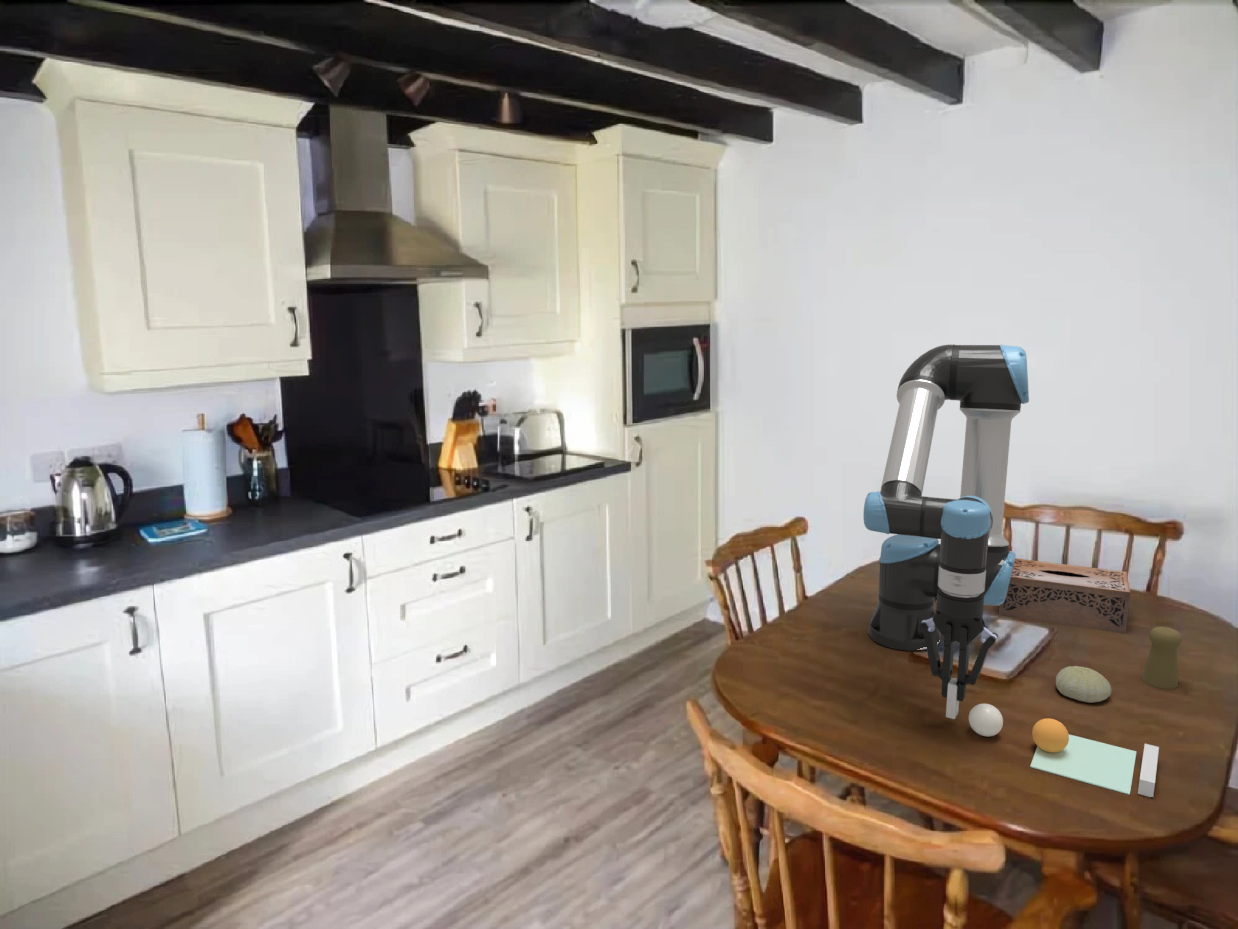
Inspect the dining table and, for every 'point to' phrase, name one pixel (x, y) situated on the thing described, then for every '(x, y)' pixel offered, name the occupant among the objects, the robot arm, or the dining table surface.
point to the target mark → (1090, 763)
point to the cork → (1162, 658)
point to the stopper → (1148, 770)
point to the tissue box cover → (1068, 595)
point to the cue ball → (985, 720)
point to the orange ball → (1050, 735)
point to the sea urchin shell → (1083, 684)
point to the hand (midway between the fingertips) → (952, 714)
